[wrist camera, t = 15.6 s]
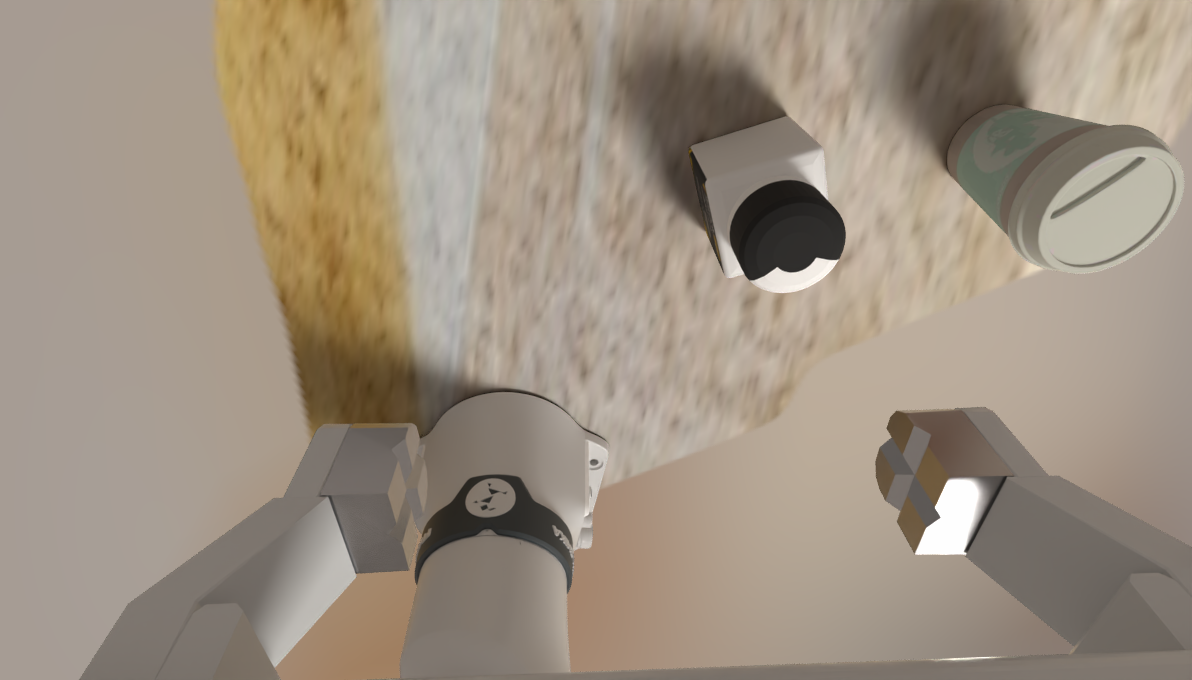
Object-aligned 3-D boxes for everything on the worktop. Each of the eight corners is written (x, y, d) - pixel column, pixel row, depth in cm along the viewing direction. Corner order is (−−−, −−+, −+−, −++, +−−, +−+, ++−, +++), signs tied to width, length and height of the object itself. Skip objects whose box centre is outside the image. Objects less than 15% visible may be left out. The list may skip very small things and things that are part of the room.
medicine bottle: (686, 145, 43) (721, 213, 33) (789, 113, 42) (856, 174, 32) (706, 235, 47) (743, 320, 37) (801, 208, 46) (864, 288, 36)
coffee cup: (1066, 71, 41) (1223, 121, 31) (1037, 193, 46) (1165, 269, 36) (934, 95, 42) (1048, 151, 32) (919, 213, 47) (1013, 293, 37)
